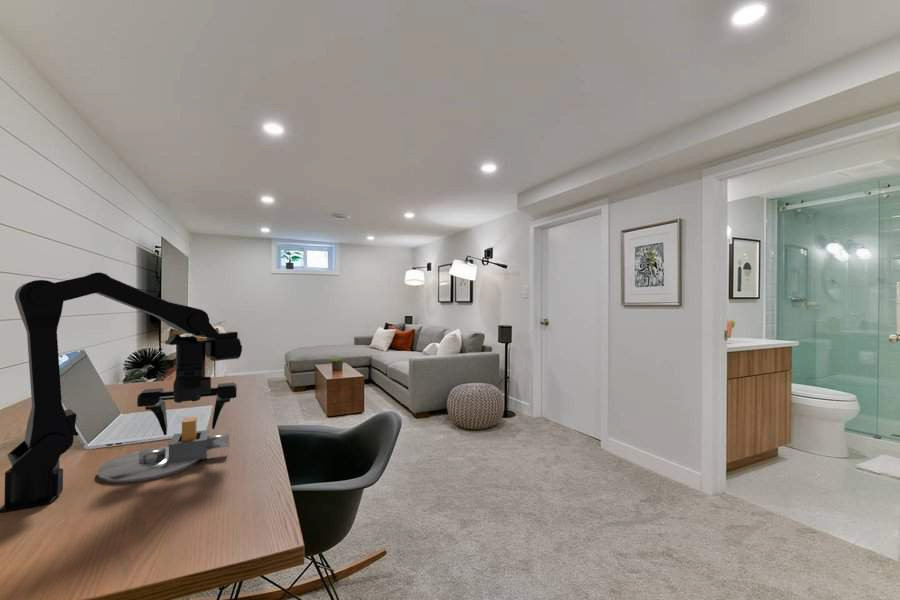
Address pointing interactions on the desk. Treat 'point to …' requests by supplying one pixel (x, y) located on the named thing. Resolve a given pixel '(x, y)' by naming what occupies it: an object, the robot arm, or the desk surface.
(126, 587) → the desk surface
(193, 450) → the rosette bracket
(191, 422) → the yellow orange block
